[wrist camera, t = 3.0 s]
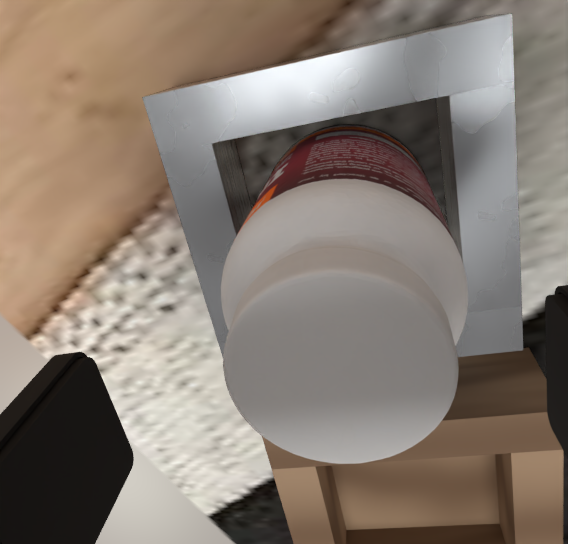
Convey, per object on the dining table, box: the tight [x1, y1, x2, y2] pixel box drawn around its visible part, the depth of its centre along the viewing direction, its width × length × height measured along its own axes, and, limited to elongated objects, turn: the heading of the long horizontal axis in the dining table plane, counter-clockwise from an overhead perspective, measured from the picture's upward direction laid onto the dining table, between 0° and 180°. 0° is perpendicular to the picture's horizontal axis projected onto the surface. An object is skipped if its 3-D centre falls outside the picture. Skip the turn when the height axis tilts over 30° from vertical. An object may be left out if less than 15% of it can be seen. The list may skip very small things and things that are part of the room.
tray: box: [262, 347, 563, 544], centre depth 23 cm, size 11×11×4 cm
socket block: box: [142, 13, 523, 357], centre depth 19 cm, size 11×11×3 cm
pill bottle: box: [221, 125, 468, 464], centre depth 15 cm, size 6×6×11 cm
